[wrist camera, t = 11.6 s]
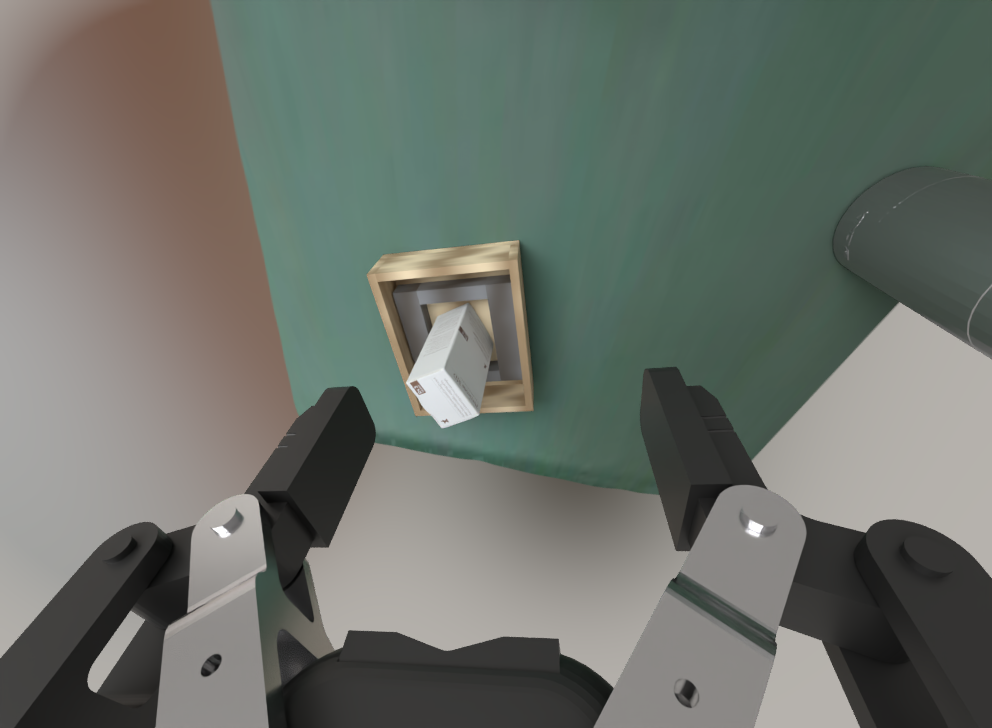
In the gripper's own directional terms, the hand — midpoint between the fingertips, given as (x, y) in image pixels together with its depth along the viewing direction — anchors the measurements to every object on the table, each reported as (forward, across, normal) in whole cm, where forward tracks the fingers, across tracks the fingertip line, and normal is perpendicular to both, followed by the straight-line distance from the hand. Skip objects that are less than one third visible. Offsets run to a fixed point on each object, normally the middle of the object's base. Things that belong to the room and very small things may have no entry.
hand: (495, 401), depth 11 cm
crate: (+30, +8, +14) cm, 34 cm away
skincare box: (+29, +8, +14) cm, 33 cm away
